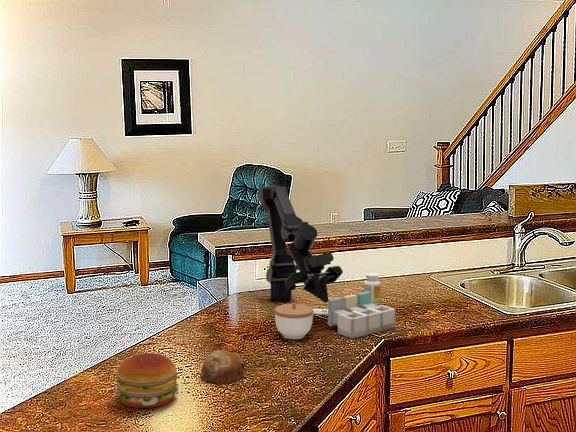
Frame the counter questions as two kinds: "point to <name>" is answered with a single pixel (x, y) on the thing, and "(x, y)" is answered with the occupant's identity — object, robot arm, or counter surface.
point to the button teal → (366, 301)
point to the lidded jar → (293, 320)
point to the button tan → (352, 304)
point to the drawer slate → (336, 311)
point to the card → (320, 311)
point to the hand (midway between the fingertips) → (326, 301)
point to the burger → (146, 380)
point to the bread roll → (222, 367)
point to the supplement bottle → (373, 287)
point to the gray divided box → (366, 322)
